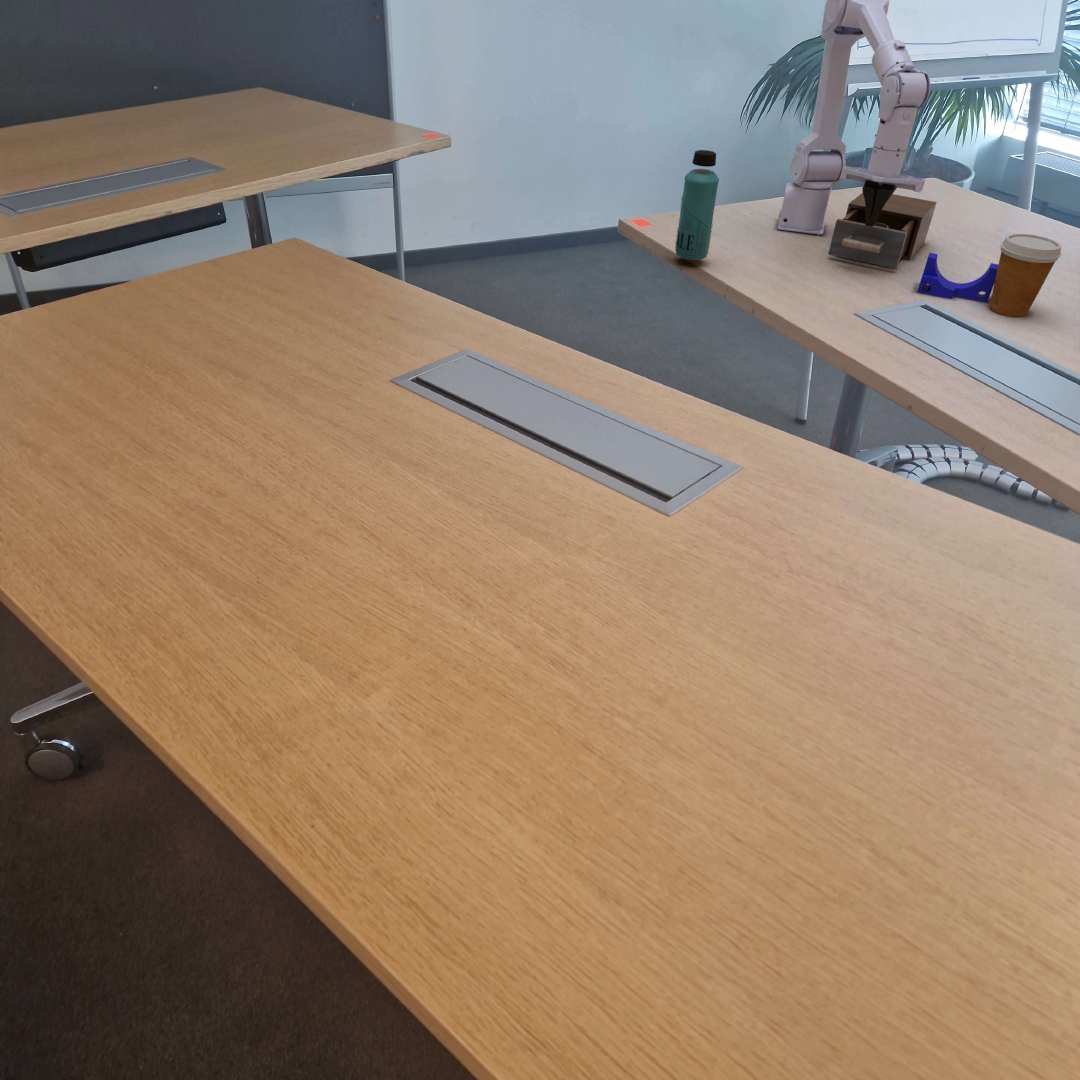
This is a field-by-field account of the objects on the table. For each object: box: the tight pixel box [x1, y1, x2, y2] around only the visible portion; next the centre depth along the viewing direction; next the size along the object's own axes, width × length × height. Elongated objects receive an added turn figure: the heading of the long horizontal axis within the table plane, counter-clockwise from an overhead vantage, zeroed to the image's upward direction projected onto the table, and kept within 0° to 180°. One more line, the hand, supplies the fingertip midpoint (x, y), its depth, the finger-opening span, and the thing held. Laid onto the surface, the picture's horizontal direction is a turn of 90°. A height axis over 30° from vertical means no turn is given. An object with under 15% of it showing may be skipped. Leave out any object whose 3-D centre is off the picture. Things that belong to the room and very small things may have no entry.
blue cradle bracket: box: [916, 252, 999, 303], centre depth 159 cm, size 12×4×6 cm, turn 65°
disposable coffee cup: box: [988, 233, 1062, 317], centre depth 152 cm, size 10×10×12 cm
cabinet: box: [845, 192, 937, 261], centre depth 180 cm, size 13×14×8 cm
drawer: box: [828, 208, 917, 270], centre depth 171 cm, size 17×13×7 cm
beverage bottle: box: [674, 149, 720, 261], centre depth 163 cm, size 6×7×20 cm
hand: (870, 224), depth 165 cm, fingers closed
